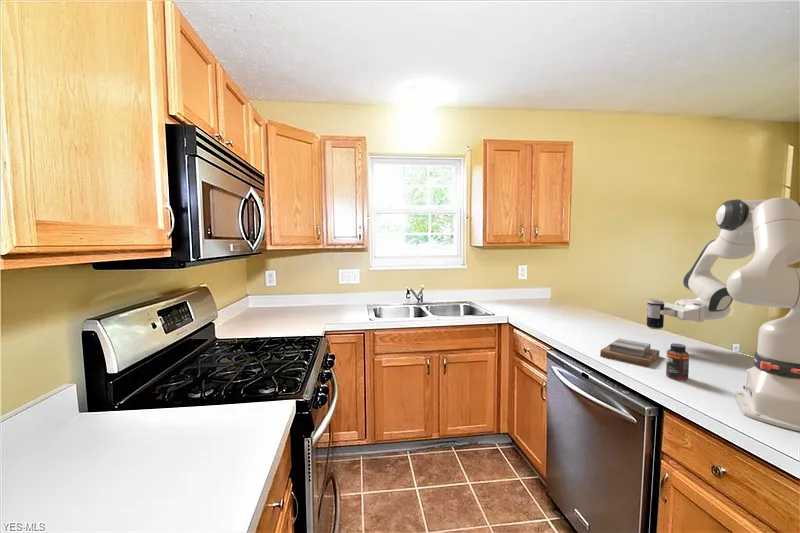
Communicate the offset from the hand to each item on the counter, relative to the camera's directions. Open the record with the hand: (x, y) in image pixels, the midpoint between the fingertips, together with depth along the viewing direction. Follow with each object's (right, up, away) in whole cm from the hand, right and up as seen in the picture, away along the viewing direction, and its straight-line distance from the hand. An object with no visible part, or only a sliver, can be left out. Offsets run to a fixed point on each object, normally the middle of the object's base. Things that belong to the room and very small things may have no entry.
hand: (653, 310), depth 146 cm
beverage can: (+1, -8, +1) cm, 8 cm away
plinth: (-15, -17, -7) cm, 24 cm away
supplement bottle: (-13, -19, -28) cm, 36 cm away
